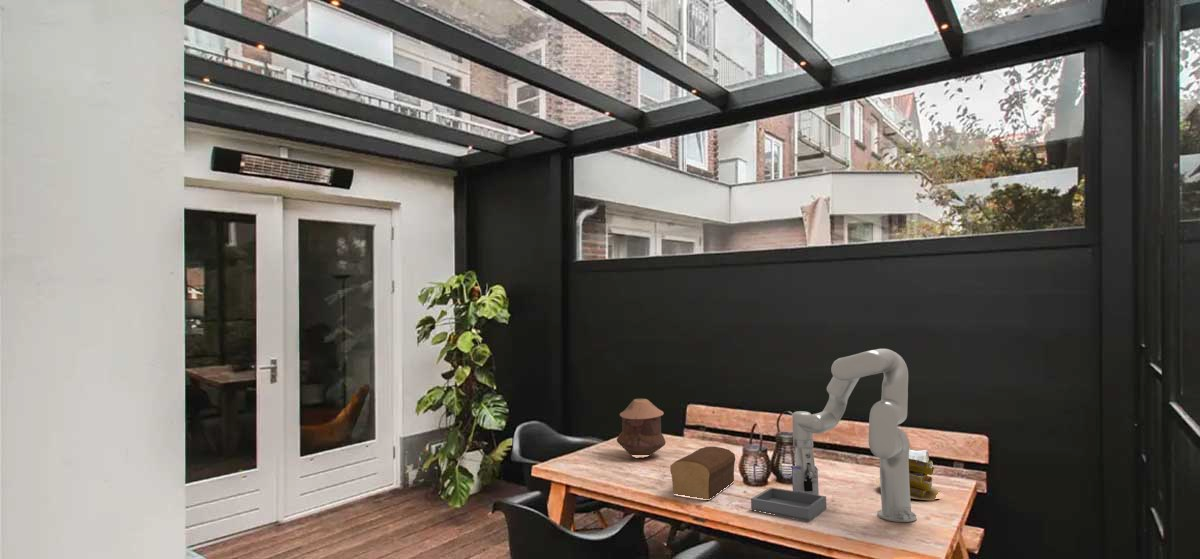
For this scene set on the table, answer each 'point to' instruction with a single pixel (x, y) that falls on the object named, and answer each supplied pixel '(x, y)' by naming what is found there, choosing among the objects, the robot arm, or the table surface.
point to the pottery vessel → (641, 428)
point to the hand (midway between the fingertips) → (805, 488)
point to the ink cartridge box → (799, 480)
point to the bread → (703, 472)
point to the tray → (789, 503)
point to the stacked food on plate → (920, 476)
